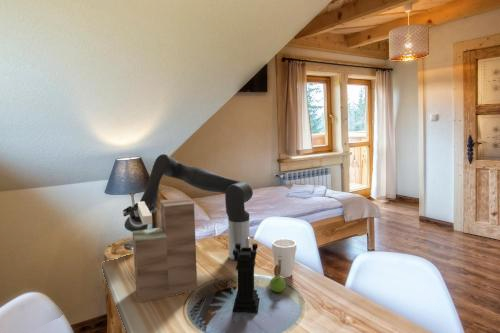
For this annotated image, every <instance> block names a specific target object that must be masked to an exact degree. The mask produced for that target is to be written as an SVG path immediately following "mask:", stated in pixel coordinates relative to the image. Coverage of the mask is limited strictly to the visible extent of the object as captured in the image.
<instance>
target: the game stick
mask: <svg viewBox="0 0 500 333" xmlns="http://www.w3.org/2000/svg"><path fill="white" fill-rule="evenodd" d="M136 203H138V210H137V211H138V213H139V216H140V218H141V221H142V223H143V225H146V224H148V225H152V224H153V215H152V212H151V213H150V211H149V209H148V207H147V206H146V204H145V202H144V201H142V202H140V201H136V202H135V204H136Z"/></svg>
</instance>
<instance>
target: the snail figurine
mask: <svg viewBox="0 0 500 333" xmlns="http://www.w3.org/2000/svg"><path fill="white" fill-rule="evenodd" d="M279 257H282V256H280V255H279ZM281 261H282V260H281V259H278V263H277V264H276V265H275V264H274V268H273V271H274V272H273V273H274V274H273V275H274V276H273V277H272V278H271V280H270V282H269V286H270V289H271V290H272V292H275V293H281V292H283V291H284V290H285V289H286V281H285V278H282V277H280V274H281Z"/></svg>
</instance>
